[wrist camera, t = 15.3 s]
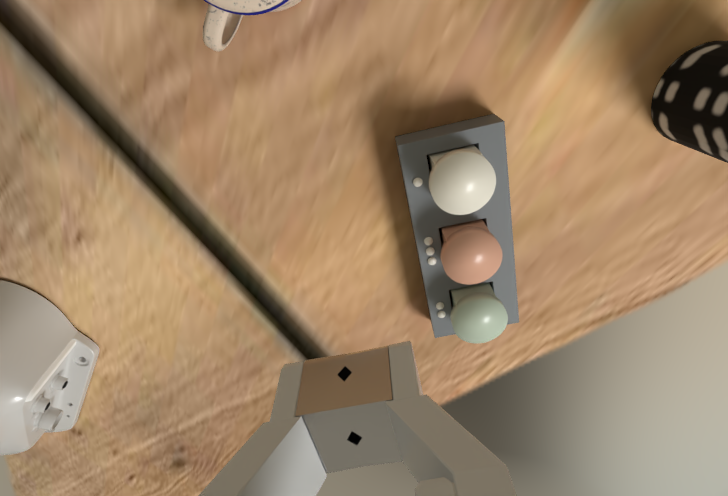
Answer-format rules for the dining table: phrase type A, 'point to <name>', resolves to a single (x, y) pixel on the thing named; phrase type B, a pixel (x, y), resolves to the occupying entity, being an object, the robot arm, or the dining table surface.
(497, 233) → the button panel
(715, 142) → the spotted tube
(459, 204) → the button one dot
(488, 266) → the pink dome knob
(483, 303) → the button two dots
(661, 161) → the dining table surface
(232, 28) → the teacup with lid
